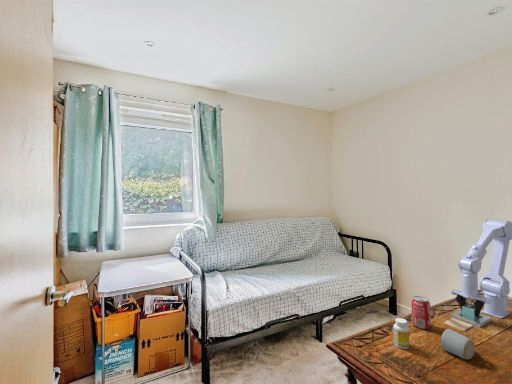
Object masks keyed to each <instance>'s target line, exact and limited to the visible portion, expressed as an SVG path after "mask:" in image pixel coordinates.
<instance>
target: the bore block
mask: <svg viewBox="0 0 512 384" xmlns="http://www.w3.org/2000/svg"><path fill="white" fill-rule="evenodd" d="M451 318H454V319H457V320H460V321H463V322H466V323H469V324H471V325H473V327H474V326H475V327H477V328H481V327H483V326H484V325H486V324H488V323H489V322H491V321H492V318H491V316H488V315H487V316H486V315H485V314H481V313H480V315H479V320H477V321H475V320H472V319H469V318H466V317H463V316H462V311H461V308H460V309H458V310H456V311H455V312H452V313H451V314H450V319H451Z"/></svg>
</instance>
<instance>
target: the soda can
mask: <svg viewBox="0 0 512 384" xmlns="http://www.w3.org/2000/svg"><path fill="white" fill-rule="evenodd" d="M431 310H432V309H431V304H430V301H429V299H428V298H427V297H426V296H422V295H421V296H420V295H414V296H413V297H412V299H411V322H412V323H411V324H412V325H414V326H415V327H416V328H418V329H421V330H426V329H429V328H430V327H431V325H432V324H431V323H432V315H431V312H432V311H431Z"/></svg>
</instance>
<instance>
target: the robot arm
mask: <svg viewBox="0 0 512 384" xmlns="http://www.w3.org/2000/svg"><path fill="white" fill-rule="evenodd" d="M493 240H494V244H493V250H492V253H491V260H490V264H489V269H488V272H486V273H484V274H482V275H481V278H480V280H479V277H478V273H479V272H480V271H481V269H482V264H483V262H482V261H483V259H484V258H485V256H486V255H487V247H488V246H489V245H490V244H491V242H492V241H493ZM511 240H512V221H510V220H497V219H496V220H495V219H485V220H484V221H483V224H482V232H481V235H480V237H479V239H478V241H477V242H476V244H473V245H472V246H471V247H470V249H469V250H468V252H467V253H466V255H465V256H464V257H462V258H460V259H459V261H458V263H457V266H458V268H459V270H460V271H459V273H460V274H461V290H457V289H451V290H450V294H451V295H453V296H454V295H455V300H456V302H457V303H458V306H459V307H460V309H461V311H462V306H464V305H466V304H467V299H469V300H472V301H474V302H473V305H474V307H475V317H476V318H478V317H479V315H480V314H481V313H482V314H484V315H485V314H486V315H489V316H492V317H496V318H499V319H504V318H505V317H507V316H509V314H511V312H510V311H508V300H507V297H508V296H509V294H510V291H511V289H510V281H509V280H508V278H506V276H504V273H505V267H506V263H507V257H508V251H509V247H510V241H511ZM479 289H480V290H481V291H482V293H483V295H484V296H483V295H480V294H479ZM483 307H484V308H483Z"/></svg>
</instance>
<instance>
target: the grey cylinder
mask: <svg viewBox="0 0 512 384" xmlns="http://www.w3.org/2000/svg"><path fill="white" fill-rule="evenodd" d="M440 346H441V348H442V349H443V350H444V351H447V352H449V353H450V354H452V355H454V356H456V357H457V356H458V357H459V358H461V359H463V360H470V359H472V358H473V357H474V354H475V351H476V344H475V342H474V341H473V340H472V339H470V337H468V336H465V335H463V334H461V333H458V332H457V331H455V330H453V329H451V328H447V329H445V330H444V331H443V333H442V335H441V338H440Z"/></svg>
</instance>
